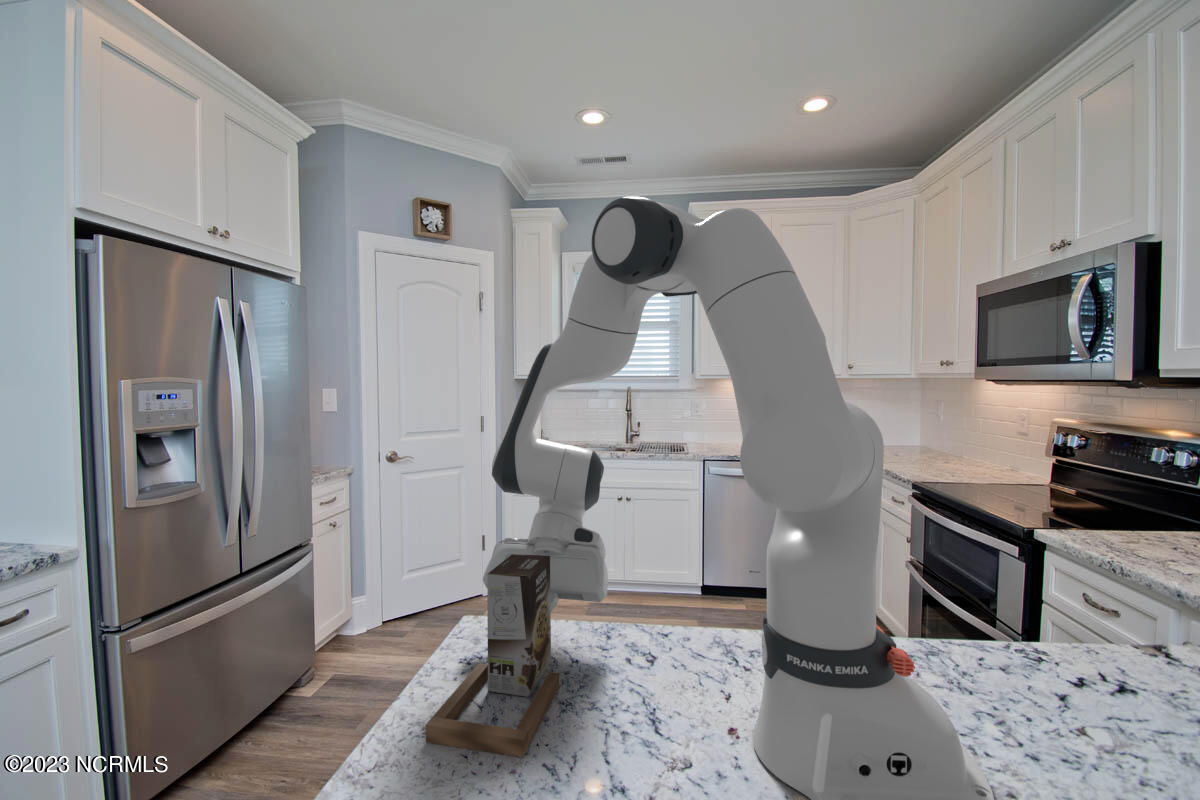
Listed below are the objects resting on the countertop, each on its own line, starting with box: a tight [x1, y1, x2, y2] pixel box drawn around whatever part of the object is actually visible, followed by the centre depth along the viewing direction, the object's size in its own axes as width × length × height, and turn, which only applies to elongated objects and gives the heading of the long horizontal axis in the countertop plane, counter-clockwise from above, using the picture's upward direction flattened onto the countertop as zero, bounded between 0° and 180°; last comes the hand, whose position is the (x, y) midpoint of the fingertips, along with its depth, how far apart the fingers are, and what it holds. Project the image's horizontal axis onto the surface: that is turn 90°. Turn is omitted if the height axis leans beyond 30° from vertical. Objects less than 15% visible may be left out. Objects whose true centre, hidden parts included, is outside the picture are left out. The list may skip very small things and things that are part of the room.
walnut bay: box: [425, 663, 561, 758], centre depth 63 cm, size 12×14×2 cm
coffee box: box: [487, 554, 552, 698], centre depth 71 cm, size 9×6×16 cm
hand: (535, 623), depth 76 cm, fingers closed, pressing on coffee box
